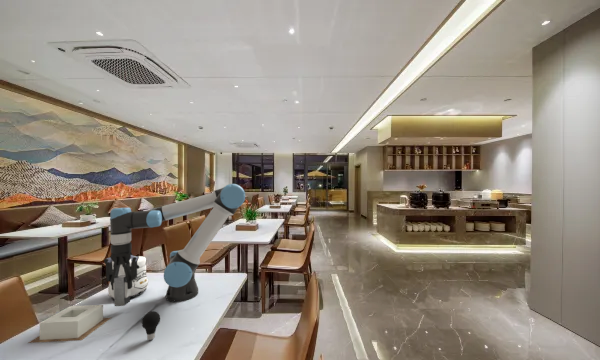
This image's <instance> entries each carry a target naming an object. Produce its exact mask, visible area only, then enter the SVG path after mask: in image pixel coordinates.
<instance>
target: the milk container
mask: <svg viewBox="0 0 600 360" xmlns="http://www.w3.org/2000/svg"><path fill="white" fill-rule="evenodd" d="M137 256H138V257H139V258H138V261H137V278H136V279H134V280H132V288H131V295H130V298H133V297H136V296H139V295H141V294H143V293H144V292H146V290H147V289H148V286H149V280H148V279H149V278H148V276H147V258H146V257H145V256H142V255H141V256H140V255H137ZM129 261H130V269H131V262H132V261H131V259H130V260H129ZM113 264H114V262H113V261H112V267H113ZM113 268H114V267H113ZM119 275H125V272H124V267H123V266H122V265H120V269H119V274H118V276H119ZM107 291H108V292H107V293H108V296H109V297H110V298H111V299H114V290H112V283H111V282H109V284H108V286H107Z"/></svg>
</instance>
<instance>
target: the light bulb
mask: <svg viewBox="0 0 600 360" xmlns="http://www.w3.org/2000/svg"><path fill="white" fill-rule="evenodd" d="M160 322H161V315H160V314H159V312H158V311H154V310H152V311H149V312H147V313H146V314H144V316H143V317H142V320H141V326H142V327H143V329H144V330H145V334H146V339H147V340H148V341H152V340H153V339H154V338H155V337H156V330H157V328H158V325H159V324H160Z"/></svg>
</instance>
